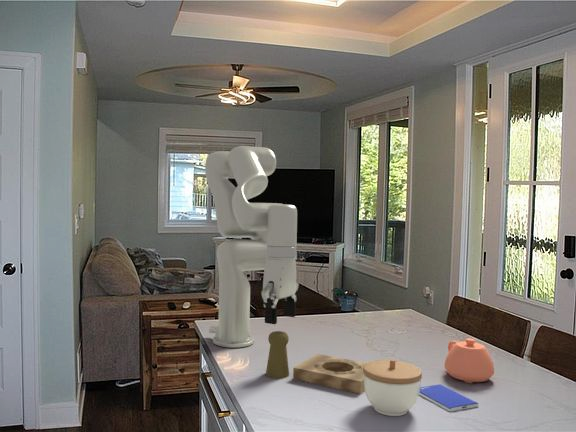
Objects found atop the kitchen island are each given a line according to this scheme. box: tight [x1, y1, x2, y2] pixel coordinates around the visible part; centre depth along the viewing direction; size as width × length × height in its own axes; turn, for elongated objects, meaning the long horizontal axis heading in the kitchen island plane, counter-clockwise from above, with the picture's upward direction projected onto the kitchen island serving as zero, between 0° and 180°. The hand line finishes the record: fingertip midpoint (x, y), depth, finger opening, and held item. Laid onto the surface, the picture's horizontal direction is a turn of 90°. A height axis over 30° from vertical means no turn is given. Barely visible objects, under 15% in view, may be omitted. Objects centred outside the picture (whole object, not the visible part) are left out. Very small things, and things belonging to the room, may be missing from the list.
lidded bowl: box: [363, 358, 423, 417], centre depth 121 cm, size 13×13×11 cm
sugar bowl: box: [444, 338, 495, 384], centre depth 144 cm, size 12×14×10 cm
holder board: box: [292, 353, 367, 395], centre depth 140 cm, size 18×14×3 cm
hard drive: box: [419, 384, 479, 412], centre depth 128 cm, size 2×8×12 cm
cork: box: [265, 330, 290, 379], centre depth 141 cm, size 6×6×11 cm
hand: (280, 319), depth 140 cm, fingers open, 9 cm apart
